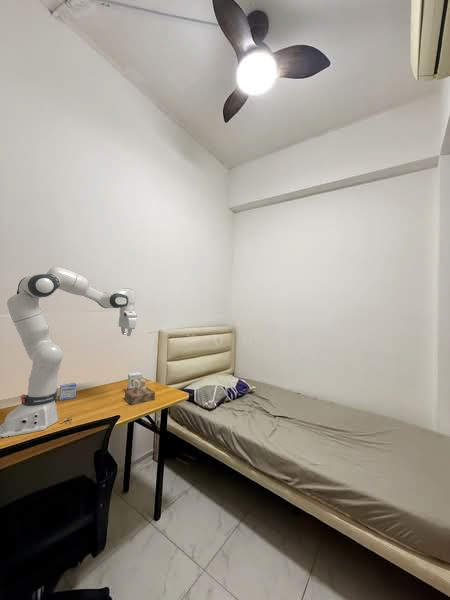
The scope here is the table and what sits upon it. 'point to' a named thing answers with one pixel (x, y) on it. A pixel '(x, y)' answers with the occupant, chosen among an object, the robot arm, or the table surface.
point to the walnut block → (139, 396)
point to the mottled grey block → (140, 386)
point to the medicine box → (67, 391)
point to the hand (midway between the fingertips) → (125, 335)
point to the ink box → (133, 380)
